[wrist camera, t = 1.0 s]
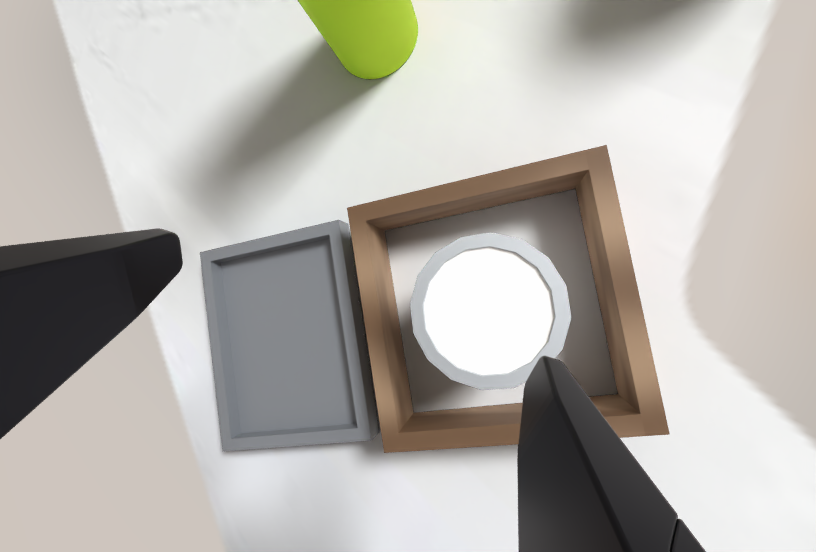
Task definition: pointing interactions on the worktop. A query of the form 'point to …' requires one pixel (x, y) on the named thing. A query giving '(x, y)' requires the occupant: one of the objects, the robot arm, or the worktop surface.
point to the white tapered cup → (489, 310)
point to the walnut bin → (614, 281)
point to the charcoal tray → (289, 341)
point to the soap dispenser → (366, 33)
